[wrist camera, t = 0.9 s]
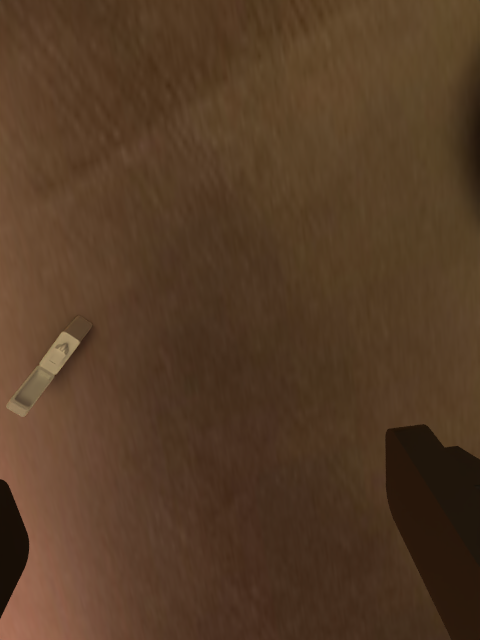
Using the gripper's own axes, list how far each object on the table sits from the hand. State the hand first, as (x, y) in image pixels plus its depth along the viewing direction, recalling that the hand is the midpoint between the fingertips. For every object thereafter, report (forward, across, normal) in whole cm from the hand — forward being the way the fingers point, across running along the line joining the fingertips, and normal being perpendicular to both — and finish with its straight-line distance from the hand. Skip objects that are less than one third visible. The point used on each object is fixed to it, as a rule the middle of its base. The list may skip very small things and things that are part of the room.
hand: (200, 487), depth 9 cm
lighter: (+32, +16, +9) cm, 37 cm away
